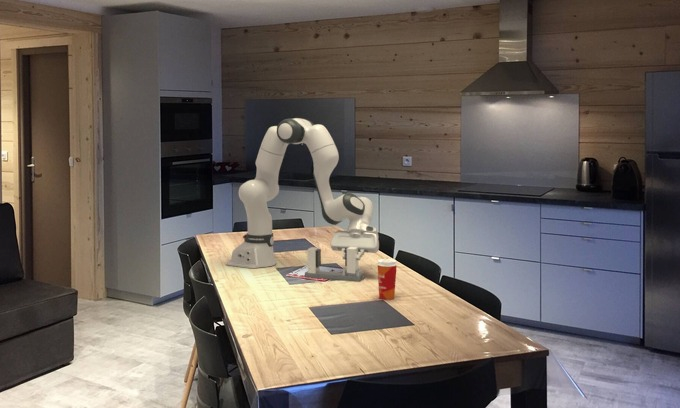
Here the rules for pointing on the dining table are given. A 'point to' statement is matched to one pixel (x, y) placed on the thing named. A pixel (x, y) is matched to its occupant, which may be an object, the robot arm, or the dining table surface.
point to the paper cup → (386, 278)
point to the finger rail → (315, 272)
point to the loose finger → (351, 259)
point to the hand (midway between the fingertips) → (351, 259)
